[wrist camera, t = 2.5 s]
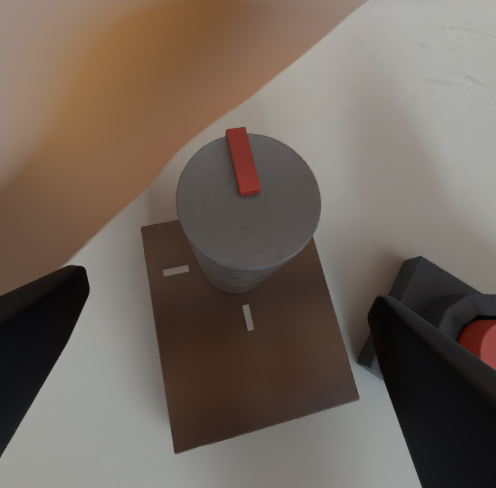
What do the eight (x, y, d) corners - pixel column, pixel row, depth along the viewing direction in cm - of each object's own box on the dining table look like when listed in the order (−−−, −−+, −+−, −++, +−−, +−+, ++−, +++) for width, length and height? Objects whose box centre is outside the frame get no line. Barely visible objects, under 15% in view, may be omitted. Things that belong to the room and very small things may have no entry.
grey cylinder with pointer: (276, 284, 16) (344, 250, 7) (207, 300, 16) (188, 283, 7) (260, 220, 17) (303, 116, 8) (194, 232, 16) (161, 136, 7)
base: (341, 388, 18) (362, 401, 15) (181, 434, 16) (173, 457, 14) (288, 196, 20) (298, 179, 18) (148, 222, 19) (136, 208, 16)
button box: (530, 337, 20) (594, 342, 16) (494, 452, 18) (559, 485, 14) (404, 260, 20) (441, 249, 17) (355, 362, 18) (386, 374, 15)
